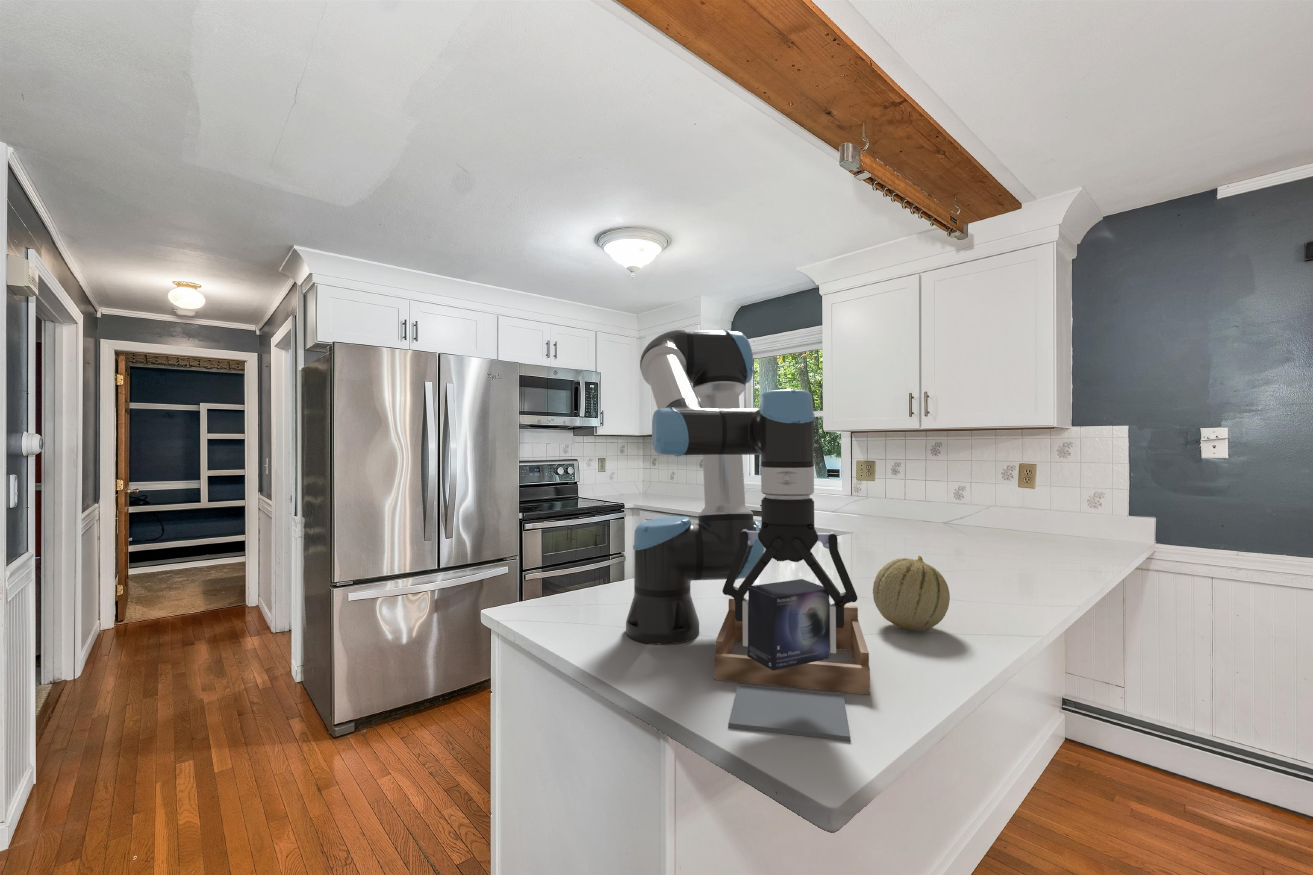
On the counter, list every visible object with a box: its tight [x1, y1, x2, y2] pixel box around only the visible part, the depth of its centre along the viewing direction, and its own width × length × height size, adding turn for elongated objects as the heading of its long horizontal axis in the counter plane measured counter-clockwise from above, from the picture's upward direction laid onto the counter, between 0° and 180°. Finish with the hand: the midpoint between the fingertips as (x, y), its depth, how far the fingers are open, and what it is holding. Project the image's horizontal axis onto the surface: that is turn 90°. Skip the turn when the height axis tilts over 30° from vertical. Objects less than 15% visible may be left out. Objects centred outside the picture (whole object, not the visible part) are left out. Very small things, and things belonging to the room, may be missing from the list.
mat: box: [727, 684, 851, 742], centre depth 84 cm, size 16×13×1 cm
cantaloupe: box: [872, 555, 951, 632], centre depth 121 cm, size 15×15×15 cm
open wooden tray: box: [714, 598, 871, 696], centre depth 103 cm, size 24×20×8 cm
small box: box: [746, 578, 830, 671], centre depth 84 cm, size 11×6×10 cm, turn 117°
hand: (788, 646), depth 84 cm, fingers closed on small box, 11 cm apart
